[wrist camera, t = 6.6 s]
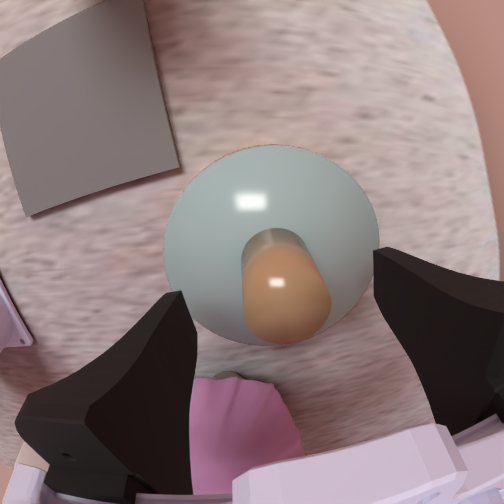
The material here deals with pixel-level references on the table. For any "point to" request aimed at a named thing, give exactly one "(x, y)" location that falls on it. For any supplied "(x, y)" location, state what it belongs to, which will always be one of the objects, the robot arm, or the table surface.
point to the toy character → (236, 430)
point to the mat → (84, 107)
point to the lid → (271, 245)
